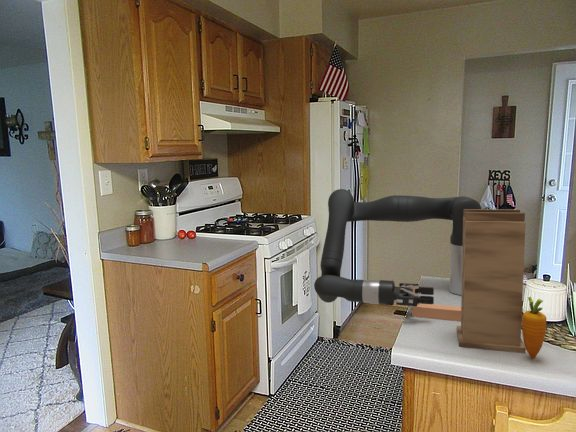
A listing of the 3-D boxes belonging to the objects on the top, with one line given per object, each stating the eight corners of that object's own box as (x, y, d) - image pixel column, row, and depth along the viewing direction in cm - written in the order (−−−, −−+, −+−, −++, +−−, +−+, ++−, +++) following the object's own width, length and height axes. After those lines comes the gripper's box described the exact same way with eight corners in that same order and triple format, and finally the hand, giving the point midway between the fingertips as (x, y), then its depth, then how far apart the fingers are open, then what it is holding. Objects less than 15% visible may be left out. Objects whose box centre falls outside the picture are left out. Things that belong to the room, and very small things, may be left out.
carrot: (519, 352, 104) (521, 293, 102) (542, 355, 103) (545, 294, 100) (522, 361, 100) (524, 299, 98) (546, 364, 98) (549, 301, 96)
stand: (456, 329, 119) (459, 208, 114) (517, 334, 114) (522, 208, 109) (459, 346, 109) (461, 214, 104) (525, 353, 104) (531, 214, 99)
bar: (412, 313, 133) (413, 302, 132) (491, 321, 125) (491, 309, 124) (411, 317, 130) (411, 306, 129) (492, 325, 122) (492, 313, 121)
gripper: (375, 287, 126) (433, 290, 121) (381, 274, 139) (433, 276, 134) (375, 311, 127) (433, 316, 122) (381, 296, 140) (433, 299, 135)
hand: (433, 295), depth 128 cm, fingers open, 8 cm apart
